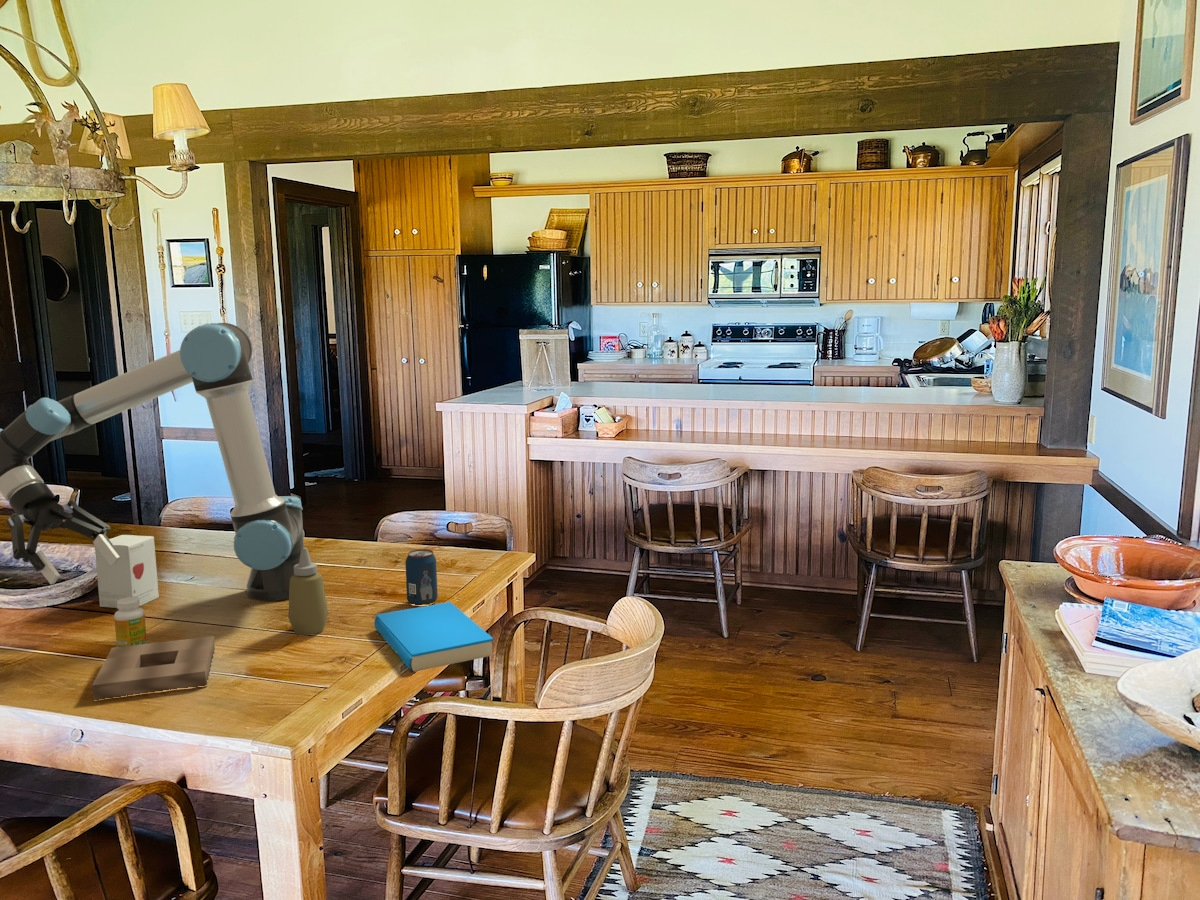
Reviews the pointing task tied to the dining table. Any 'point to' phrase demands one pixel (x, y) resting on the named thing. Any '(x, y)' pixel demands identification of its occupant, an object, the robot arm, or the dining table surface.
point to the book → (433, 636)
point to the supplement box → (128, 571)
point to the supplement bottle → (130, 623)
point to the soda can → (421, 577)
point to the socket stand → (154, 667)
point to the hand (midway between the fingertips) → (86, 570)
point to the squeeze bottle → (307, 597)
